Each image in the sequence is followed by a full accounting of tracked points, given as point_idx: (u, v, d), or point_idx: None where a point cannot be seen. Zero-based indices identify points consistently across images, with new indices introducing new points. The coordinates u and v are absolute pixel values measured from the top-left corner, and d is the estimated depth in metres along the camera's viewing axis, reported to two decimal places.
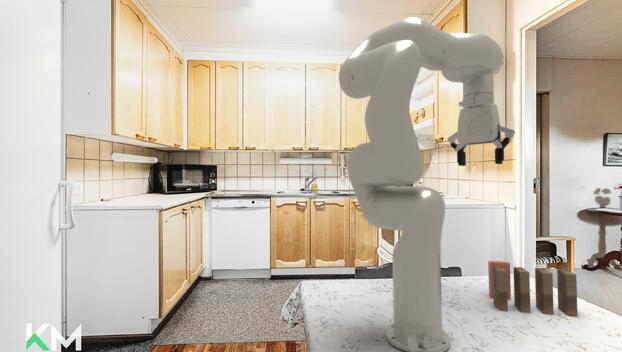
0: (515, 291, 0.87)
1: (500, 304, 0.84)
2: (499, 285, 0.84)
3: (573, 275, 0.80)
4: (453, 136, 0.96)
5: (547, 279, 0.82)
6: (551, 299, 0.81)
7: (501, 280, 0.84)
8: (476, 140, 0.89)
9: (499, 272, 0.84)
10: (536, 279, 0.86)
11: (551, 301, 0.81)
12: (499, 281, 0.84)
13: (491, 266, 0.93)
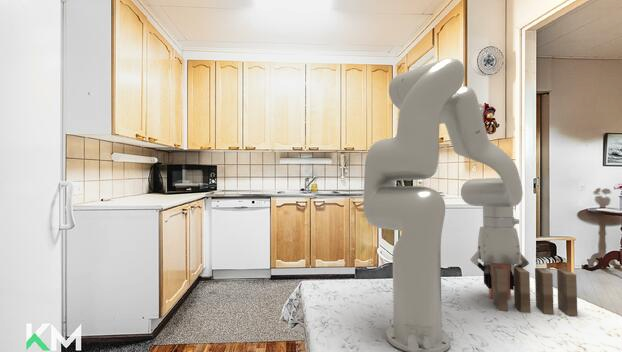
0: (515, 291, 0.87)
1: (500, 304, 0.84)
2: (499, 285, 0.84)
3: (573, 275, 0.80)
4: None
5: (547, 279, 0.82)
6: (551, 299, 0.81)
7: (501, 280, 0.84)
8: None
9: (499, 272, 0.84)
10: (536, 279, 0.86)
11: (551, 301, 0.81)
12: (499, 281, 0.84)
13: (491, 266, 0.93)
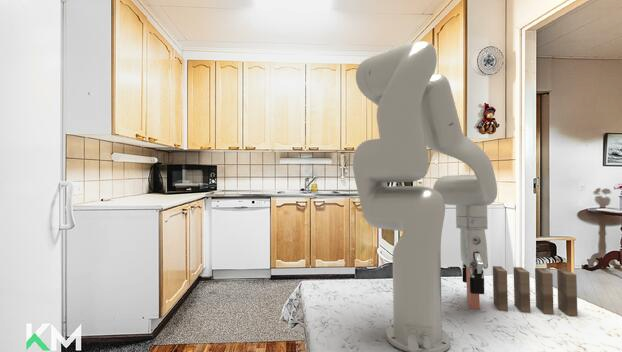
0: (515, 291, 0.87)
1: (500, 304, 0.84)
2: (499, 285, 0.84)
3: (573, 275, 0.80)
4: None
5: (547, 279, 0.82)
6: (551, 299, 0.81)
7: (501, 280, 0.84)
8: None
9: (499, 272, 0.84)
10: (536, 279, 0.86)
11: (551, 301, 0.81)
12: (499, 281, 0.84)
13: (466, 269, 0.91)
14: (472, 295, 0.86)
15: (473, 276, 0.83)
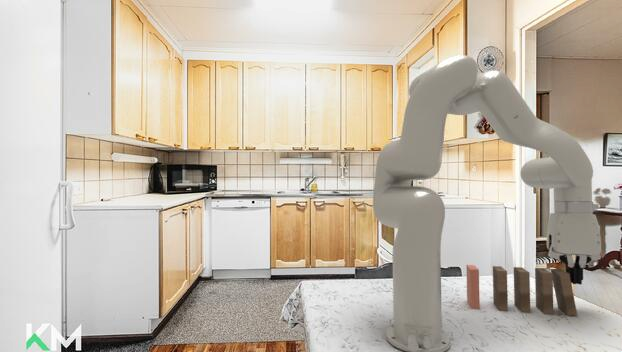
0: (515, 291, 0.87)
1: (500, 304, 0.84)
2: (499, 285, 0.84)
3: (566, 274, 0.81)
4: None
5: (547, 279, 0.82)
6: (551, 299, 0.81)
7: (501, 280, 0.84)
8: None
9: (499, 272, 0.84)
10: (536, 279, 0.86)
11: (551, 301, 0.81)
12: (499, 281, 0.84)
13: (467, 269, 0.91)
14: (472, 295, 0.86)
15: None
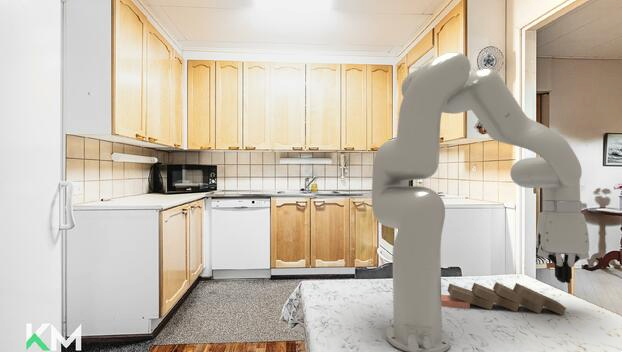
0: None
1: (485, 306, 0.85)
2: (466, 300, 0.86)
3: (523, 291, 0.83)
4: None
5: (505, 294, 0.84)
6: (527, 300, 0.83)
7: (461, 297, 0.86)
8: None
9: (453, 296, 0.87)
10: None
11: (529, 301, 0.83)
12: (462, 299, 0.86)
13: None
14: None
15: None
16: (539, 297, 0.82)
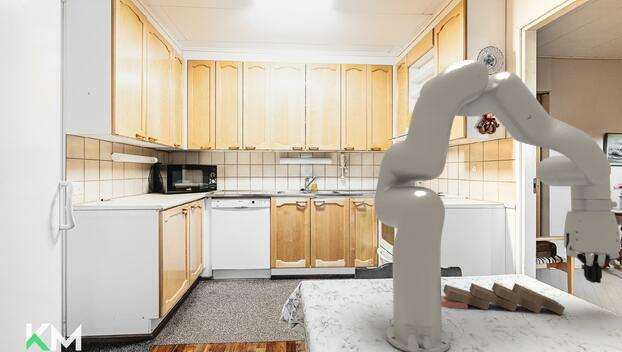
0: None
1: (481, 306, 0.85)
2: (462, 301, 0.86)
3: (522, 291, 0.83)
4: None
5: (504, 294, 0.84)
6: (525, 300, 0.83)
7: (457, 298, 0.86)
8: None
9: (449, 297, 0.86)
10: None
11: (527, 301, 0.83)
12: (458, 300, 0.86)
13: None
14: None
15: None
16: (538, 297, 0.82)
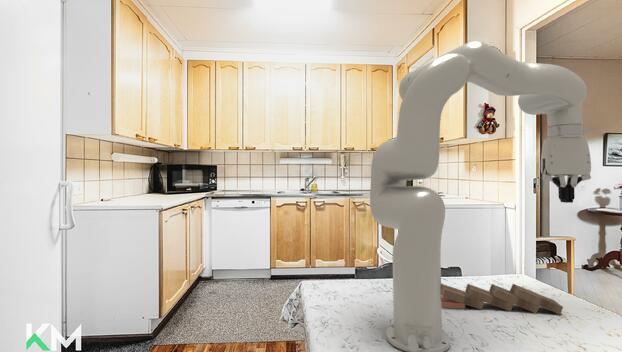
0: None
1: (476, 306, 0.85)
2: (457, 300, 0.85)
3: (519, 291, 0.83)
4: None
5: (501, 295, 0.84)
6: (523, 301, 0.83)
7: (453, 297, 0.85)
8: None
9: (444, 296, 0.86)
10: None
11: (525, 302, 0.83)
12: (453, 299, 0.85)
13: None
14: None
15: (574, 186, 0.87)
16: (536, 297, 0.82)
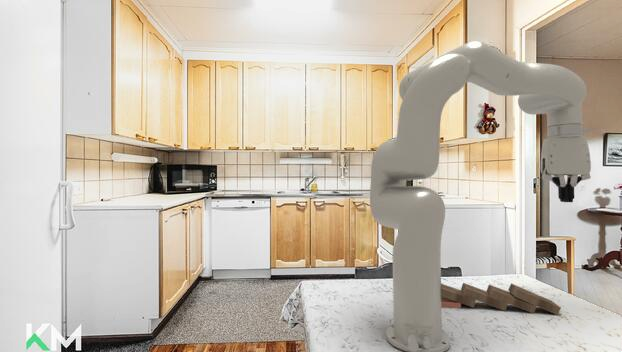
0: None
1: (467, 304, 0.86)
2: (448, 298, 0.87)
3: (517, 291, 0.83)
4: None
5: (498, 296, 0.84)
6: (520, 301, 0.83)
7: (444, 294, 0.87)
8: None
9: None
10: None
11: (522, 302, 0.83)
12: (445, 296, 0.87)
13: None
14: None
15: (574, 185, 0.87)
16: (534, 297, 0.82)
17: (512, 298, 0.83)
